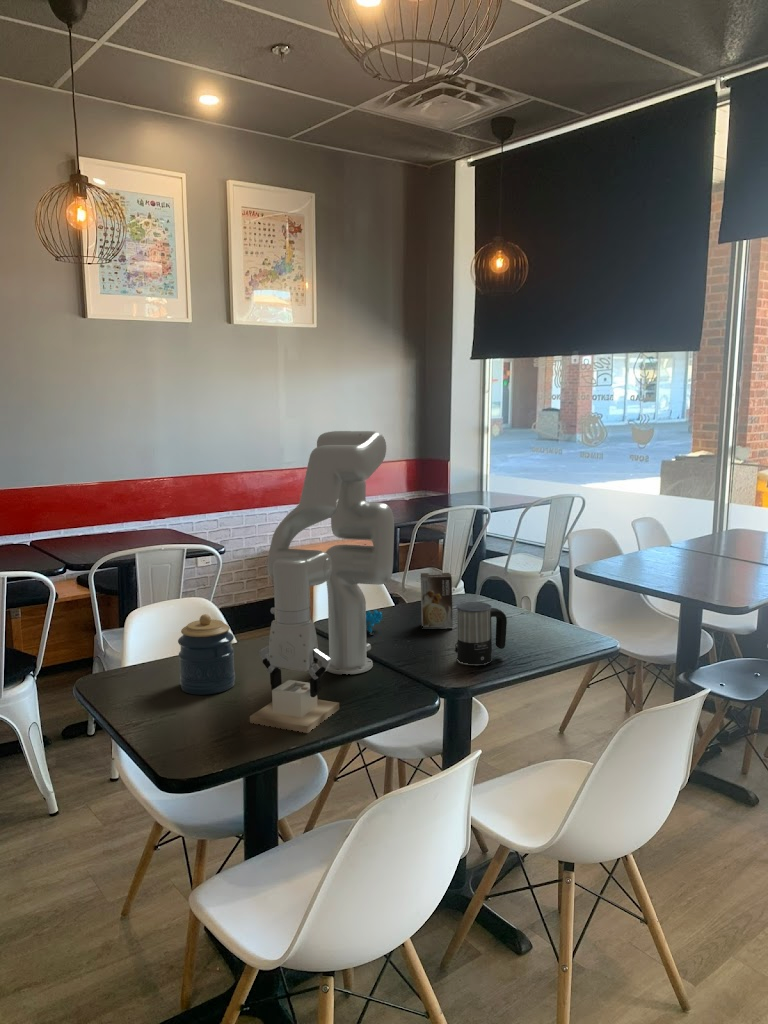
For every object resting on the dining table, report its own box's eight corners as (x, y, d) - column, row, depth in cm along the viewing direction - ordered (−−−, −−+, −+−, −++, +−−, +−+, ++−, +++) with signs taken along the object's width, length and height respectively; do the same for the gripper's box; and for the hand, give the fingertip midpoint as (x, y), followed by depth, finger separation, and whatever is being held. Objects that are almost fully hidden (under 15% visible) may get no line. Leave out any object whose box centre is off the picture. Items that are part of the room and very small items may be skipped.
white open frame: (289, 701, 175) (289, 678, 175) (317, 706, 173) (316, 682, 172) (272, 712, 169) (271, 688, 168) (301, 717, 166) (300, 693, 166)
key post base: (284, 700, 180) (283, 674, 179) (339, 709, 175) (338, 683, 174) (250, 723, 168) (248, 695, 167) (307, 733, 162) (306, 705, 161)
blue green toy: (378, 621, 238) (383, 605, 230) (385, 638, 235) (390, 622, 227) (344, 630, 235) (347, 614, 227) (350, 648, 232) (354, 631, 224)
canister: (216, 698, 182) (213, 624, 180) (169, 692, 186) (165, 619, 184) (245, 680, 194) (242, 610, 192) (200, 674, 198) (196, 605, 196)
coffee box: (450, 623, 241) (450, 572, 239) (452, 629, 235) (452, 576, 233) (420, 624, 241) (420, 572, 239) (422, 630, 235) (421, 577, 233)
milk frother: (474, 669, 199) (474, 612, 197) (431, 655, 211) (431, 601, 210) (511, 657, 208) (512, 602, 206) (468, 644, 220) (468, 592, 218)
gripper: (248, 615, 168) (252, 692, 171) (320, 624, 161) (322, 704, 164) (267, 606, 175) (271, 680, 178) (337, 614, 168) (339, 691, 171)
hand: (295, 691), depth 171 cm, fingers open, 9 cm apart
